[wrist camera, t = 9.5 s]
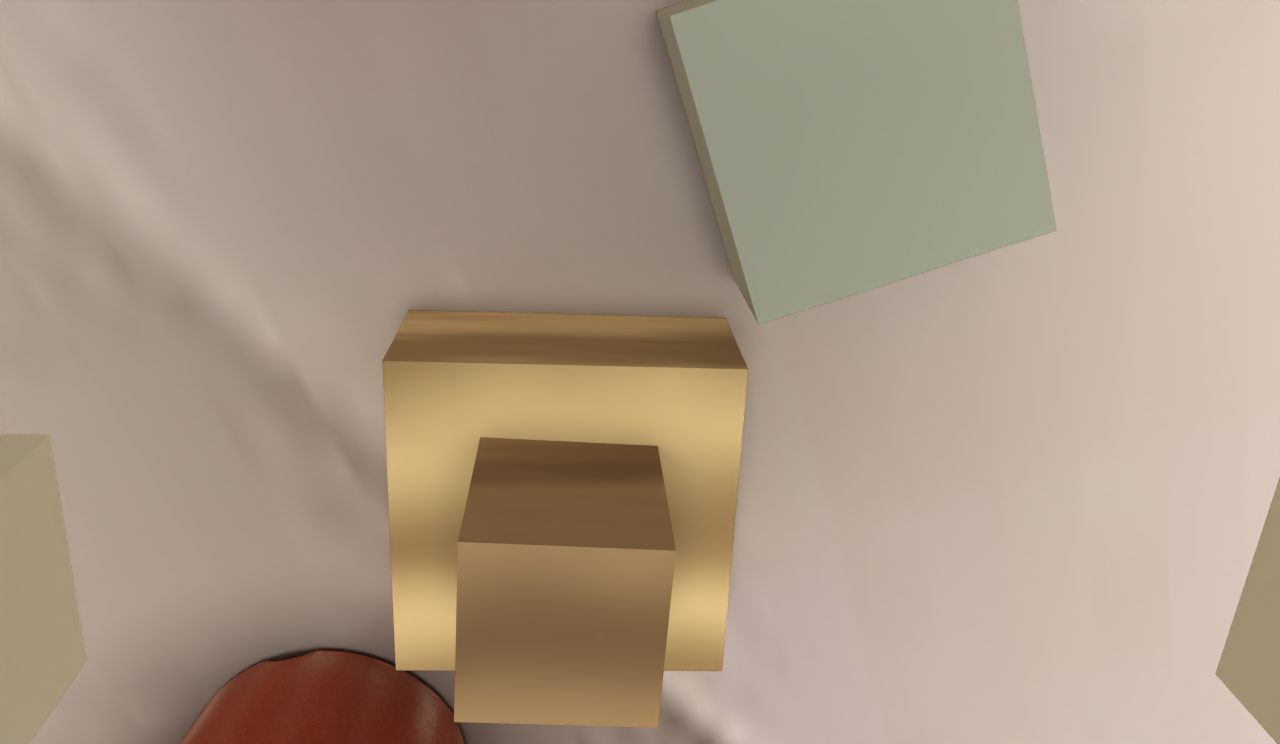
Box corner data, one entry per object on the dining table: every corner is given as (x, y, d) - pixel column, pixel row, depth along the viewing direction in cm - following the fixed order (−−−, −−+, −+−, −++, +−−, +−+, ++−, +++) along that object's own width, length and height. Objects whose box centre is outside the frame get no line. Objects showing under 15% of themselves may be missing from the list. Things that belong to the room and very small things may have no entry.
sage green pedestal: (655, 10, 36) (669, 16, 30) (934, -83, 36) (1001, -95, 30) (732, 276, 40) (758, 324, 34) (987, 194, 39) (1056, 230, 33)
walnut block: (480, 437, 35) (457, 541, 28) (657, 445, 35) (676, 550, 29) (475, 591, 37) (453, 722, 30) (643, 597, 37) (657, 727, 31)
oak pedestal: (409, 307, 39) (382, 360, 34) (723, 315, 40) (748, 369, 35) (419, 582, 44) (395, 670, 38) (703, 584, 44) (722, 670, 39)
